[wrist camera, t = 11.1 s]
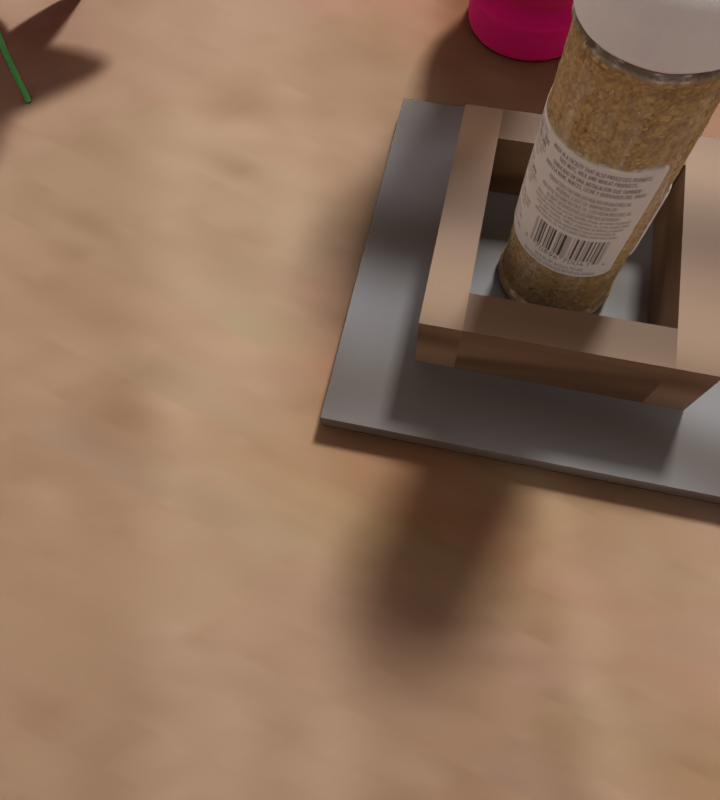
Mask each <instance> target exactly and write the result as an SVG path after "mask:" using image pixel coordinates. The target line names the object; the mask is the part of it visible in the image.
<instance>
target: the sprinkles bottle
mask: <svg viewBox="0 0 720 800" xmlns="http://www.w3.org/2000/svg"><path fill="white" fill-rule="evenodd" d="M719 102H720V0H573V5H572V22H571V26H570V30H569V33H568V36H567V38H566V43H565V46H564V51H563V54H562V57H561V60H560V62H559V65H558V69H557V73H556V76H555V80H554V83H553V85H552V87H551V89H550V92H549V94H548V97H547V100H546V104H545V107H544V111H543V114H542V118H541V122H540V125H539V129H538V132H537V136H536V139H535V143H534V146H533V150H532V153H531V156H530V160H529V163H528V166H527V170H526V173H525V177H524V180H523V184H522V187H521V191H520V195H519V198H518V202H517V205H516V209H515V214H514V222H513V225H512V228H511V233H510V237H509V239H508V243H507V244H506V245H505V247H504V249H503V251H502V253H501V256H500V260H499V265H498V271H499V279H500V281H501V284H502V287H503V289H504V291H505V292H506V294H507V296H508V297H509V298H510V300H513V301H519V302H525V303H531V304H537V305H542V306H548V307H554V308H560V309H566V310H572V311H577V312H583V313H589V314H591V313H593V312H595V311H596V310H597V309H598V308H599V307H600V306H601V305H602V304H603V303H604V301H605V300H606V299H607V298H608V296H609V294H610V290H611V288H612V286H613V284H614V280H615V278H616V276H617V275H618V273H619V271H620V270H621V268H622V266H623V265H624V263H625V261H626V259H627V258H628V256H629V255H631V254H632V253H633V252H634V250H635V249H636V247H637V246H638V244H639V243H640V241H641V239H642V238H643V236H644V234H645V233H646V231H647V229H648V228H649V226H650V225H651V223H652V221H653V219H654V218H655V216H656V214H657V213H658V211H659V209H660V208H661V206H662V204H663V203H664V201H665V199H666V198H667V196H668V194H669V192H670V189H671V186H672V183H673V181H674V180H675V178H676V177H677V175H678V174H679V172H680V170H681V168H682V167H683V165H684V164H685V162H686V160H687V158H688V156H689V155H690V153H691V151H692V150H693V147H694V146H695V144H696V143H697V140H698V139H699V138H700V136H701V135H702V133H703V131H704V129H705V127H706V126H707V124H708V122H709V120H710V118H711V116H712V114H713V112H714V111H715V109H716V107H717V106H718V104H719Z"/></svg>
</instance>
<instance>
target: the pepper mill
mask: <svg viewBox="0 0 720 800" xmlns="http://www.w3.org/2000/svg"><path fill="white" fill-rule="evenodd" d="M572 5H573V0H470V2H469V12H468V17H469V21H470V26H471V28H472V30H473V32H474V34H475V35H476V36H477V37H478V38H479V40H480V41H481V42H482V43H483V44H484V45H486V46H487V47H489V48H490V49H492V50H493V51H495V52H497V53H498V54H501V55H503V56H506V57H509V58H513V59H518V60H523V61H546V60H550V59H554V58H558V57H562V54H563V51H564V46H565V43H566V38H567V36H568V33H569V30H570V26H571V22H572Z"/></svg>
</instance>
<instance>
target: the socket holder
mask: <svg viewBox="0 0 720 800" xmlns="http://www.w3.org/2000/svg"><path fill="white" fill-rule="evenodd" d="M541 118H542V114H536V113H528V112H521V111H514V110H507V109H499V108H492V107H485V106H478V105H470V104H465V107H463V106H456V105H449V104H441V103H434V102H427V101H420V100H413V99H405V98H403V102H402V106H401V110H400V114H399V118H398V121H397V125H396V129H395V133H394V137H393V141H392V145H391V148H390V152H389V156H388V160H387V164H386V168H385V171H384V175H383V179H382V183H381V187H380V191H379V194H378V198H377V202H376V206H375V210H374V214H373V217H372V221H371V225H370V229H369V233H368V237H367V240H366V244H365V248H364V252H363V256H362V260H361V264H360V267H359V271H358V275H357V279H356V283H355V287H354V290H353V294H352V298H351V302H350V306H349V310H348V313H347V317H346V321H345V325H344V329H343V333H342V336H341V340H340V344H339V348H338V352H337V356H336V360H335V363H334V367H333V371H332V375H331V379H330V383H329V386H328V390H327V394H326V398H325V402H324V406H323V409H322V413H321V417H320V418H321V421H322V425H327V426H332V427H337V428H342V429H347V430H352V431H357V432H362V433H367V434H372V435H377V436H382V437H387V438H392V439H397V440H402V441H407V442H412V443H417V444H422V445H427V446H432V447H437V448H442V449H447V450H452V451H457V452H462V453H467V454H472V455H477V456H482V457H487V458H492V459H497V460H502V461H507V462H512V463H517V464H522V465H527V466H532V467H537V468H542V469H547V470H552V471H557V472H562V473H567V474H572V475H577V476H582V477H587V478H592V479H597V480H602V481H607V482H612V483H617V484H622V485H627V486H632V487H637V488H642V489H647V490H652V491H657V492H662V493H667V494H672V495H677V496H682V497H687V498H692V499H697V500H702V501H707V502H712V503H717V504H720V139H716V138H709V137H702V136H700V138H699V139H698V140H697V143H696V144H695V146H694V147H693V150H692V151H691V153H690V155H689V156H688V158H687V160H686V162H685V164H684V165H683V167H682V168H681V170H680V172H679V174H678V175H677V177H676V178H675V180H674V181H673V183H672V186H671V189H670V192H669V194H668V196H667V198H666V199H665V201H664V203H663V204H662V206H661V208H660V209H659V211H658V213H657V214H656V216H655V218H654V219H653V221H652V223H651V225H650V226H649V228H648V229H647V231H646V233H645V234H644V236H643V238H642V239H641V241H640V243H639V244H638V246H637V247H636V249H635V250H634V252H633V253H632V254H631V255H629V256H628V258H627V259H626V261H625V263H624V265H623V266H622V268H621V270H620V271H619V273H618V275H617V276H616V278H615V280H614V284H613V286H612V288H611V290H610V294H609V296H608V298H607V299H606V300H605V301H604V303H603V304H602V305H601V306H600V307H599V308H598V309H597V310H596V311H595V312H593V313H591V314H589V313H583V312H577V311H572V310H566V309H560V308H554V307H548V306H542V305H537V304H531V303H525V302H519V301H513V300H510V298H509V297H508V296H507V294H506V292H505V291H504V289H503V287H502V284H501V281H500V279H499V271H498V265H499V260H500V256H501V253H502V251H503V249H504V247H505V245H506V244H507V243H508V239H509V237H510V233H511V228H512V225H513V222H514V214H515V209H516V205H517V202H518V198H519V195H520V191H521V187H522V184H523V180H524V177H525V173H526V170H527V166H528V163H529V160H530V156H531V153H532V150H533V146H534V143H535V139H536V136H537V132H538V129H539V125H540V122H541Z"/></svg>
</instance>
